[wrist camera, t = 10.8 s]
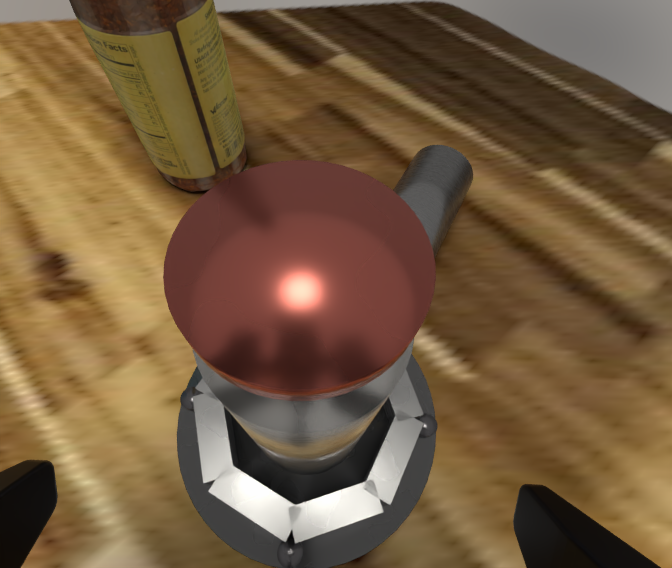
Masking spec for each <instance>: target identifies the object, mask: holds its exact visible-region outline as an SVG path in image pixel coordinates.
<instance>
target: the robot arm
mask: <svg viewBox="0 0 672 568" xmlns="http://www.w3.org/2000/svg"><path fill="white" fill-rule="evenodd" d="M57 497H58V496H57V487H56V480H55V472H54V466H53V464H52V463H51V462H50V461H47V460H26V461H23V462H21V463H19V464H17V465H15V466H12V467H10V468H8V469H6V470H4V471H2V472H0V568H21V566H22V564H23V563H24V561H25V559H26V558H27V556H28V554H29V552H30V551H31V549H32V547H33V546H34V544H35V542H36V541H37V539H38V537H39V535H40V534H41V532H42V530H43V529H44V527H45V525H46V523H47V522H48V520H49V518H50V517H51V515H52V513H53V511H54V509H55V507H56V504H57ZM513 524H514V531H515V534H516V537H517V540H518V543H519V546H520V549H521V552H522V555H523V558H524V561H525V564H526V567H527V568H661V567H659V566H658V565H657V564H655V563H654V562H652V561H651V560H649V559H648V558H647V557H645V556H644V555H642V554H641V553H640V552H638V551H637V550H635V549H634V548H632V547H631V546H630V545H628V544H627V543H625V542H624V541H623V540H621V539H620V538H618V537H617V536H615V535H614V534H613V533H611V532H610V531H608V530H607V529H606V528H604V527H603V526H601V525H600V524H598V523H597V522H596V521H594V520H593V519H591V518H590V517H589V516H587V515H586V514H584V513H583V512H582V511H580V510H579V509H577V508H576V507H574V506H573V505H572V504H570V503H569V502H567V501H566V500H565V499H563V498H562V497H560V496H559V495H557V494H556V493H555V492H553V491H552V490H550V489H549V488H547V487H546V486H544V485H533V484H525V485H522V486H521V488H520V490H519V495H518V499H517V504H516V509H515V514H514V519H513Z"/></svg>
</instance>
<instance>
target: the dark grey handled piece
mask: <svg viewBox="0 0 672 568" xmlns="http://www.w3.org/2000/svg"><path fill="white" fill-rule="evenodd" d="M472 180H473V171H472V167H471V165H470V163H469V161H468V160H467V159H466V158H465V157H464V156H463V155H462V154H461V153H460V152H458V151H457V150H455V149H453V148H451V147H448V146H443V145H431V146H427V147H425V148H423V149H421V150H420V151H419V152H418V153H417V154H416V155H415V157H414V158H413V160H412V161H411V163H410V164H409V166H408V168H407V169H406V171H405V172H404V174H403V176H402V177H401V179H400V180H399V182H398V183H397V185H396V187H395V188H394V190H393V191H394V192H395V193H396V194H397V195H398V196H400V197H401V198H402V199H403V200H404V201H405V202H406V203H407V204H408V206H409V207H410V208H411V209H412V210H413V211H414V213H415V214H416V216H417V217H418V218H419V220H420V221H421V223H422V225H423V227H424V229H425V231H426V233H427V235H428V237H429V240H430V243H431V246H432V249H433V254H434V258H435V256H436V254H437V252H438V250H439V248H440V246H441V244H442V242H443V240H444V238H445V236H446V234H447V232H448V230H449V228H450V226H451V224H452V222H453V220H454V218H455V216H456V214H457V212H458V210H459V208H460V206H461V204H462V202H463V200H464V198H465V196H466V194H467V192H468V190H469V188H470V186H471V183H472ZM180 400H181V409H180V413H179V419H178V429H177V451H178V458H179V464H180V470H181V474H182V477H183V480H184V484H185V487H186V490H187V492H188V494H189V496H190V498H191V500H192V502H193V504H194V506H195V508H196V509H197V511H198V512H199V514H200V515H201V517H202V518H203V520H204V521H205V523H206V524H207V525H208V526H209V527H210V528H211V529H212V530H213V532H214V533H215V534H216V535H217V536H218V537H219V538H220V539H222V540H223V541H224V542H225V543H227V544H228V545H229V546H230V547H232V548H233V549H234V550H236V551H238V552H240V553H241V554H243V555H245V556H247V557H248V558H250V559H253V560H255V561H258V562H260V563H263V564H266V565H268V566H273V567H278V568H330V567H333V566H336V565H340V564H343V563H347V562H349V561H351V560H354V559H356V558H358V557H360V556H362V555H364V554H366V553H368V552H369V551H371V550H372V549H374V548H375V547H377V546H378V545H380V544H381V543H382V542H384V541H385V540H386V539H387V538H388V537H389V536H390V535H391V534H393V533H394V532H395V531H396V530H397V529H398V528H399V526H400V525H401V524H402V523H403V522H404V520H405V519H406V518H407V517H408V516H409V514H410V513H411V511H412V509H413V508H414V506H415V505H416V503H417V501H418V500H419V498H420V496H421V494H422V491H423V489H424V487H425V485H426V483H427V480H428V476H429V473H430V470H431V466H432V463H433V457H434V451H435V439H436V430H437V422H436V420H435V412H434V407H433V402H432V397H431V393H430V391H429V388H428V385H427V382H426V379H425V377H424V375H423V373H422V371H421V369H420V367H419V365H418V363H417V362H416V360H415V358H414V357H413V355H412V354H411V356H410V359H409V362H408V365H407V367H406V369H405V371H404V373H403V376H402V377H401V379H400V380H399V382H398V384H397V385H396V387H395V388H394V390H393V391H392V392H391V394H390V395H389V397H388V398H387V400H386V401H385V403H384V404H383V406H382V407H381V409H380V410H379V412H378V413H377V414H376V416H375V417H374V419H373V420H372V422H371V423H370V425H369V426H368V428H367V429H366V431H365V432H364V433H363V435H362V436H361V438H360V439H359V441H358V442H357V444H356V445H355V447H354V448H353V450H352V451H351V453H350V454H349V455H348V456H347V457H346V458H345V459H344V460H343V461H342V462H341V463H340V464H339V465H337V466H336V467H334V468H332V469H330V470H328V471H326V472H323V473H320V474H314V475H300V474H294V473H291V472H288V471H286V470H284V469H282V468H280V467H279V466H277V465H276V464H274V463H273V462H272V461H271V460H270V459H269V458H268V457H267V456H266V454H265V453H264V452H263V451H262V450H261V449H260V447H259V446H258V445H257V444H256V443H255V442H254V440H253V439H252V438H251V437H250V436H249V434H248V433H247V432H246V431H245V430H244V429H243V427H242V426H241V425H240V424H239V423H238V422H237V420H236V419H235V418H234V417H233V416H232V415H231V413H230V412H229V411H228V410H227V409H226V408H225V406H224V405H223V404H222V403H221V402H220V401H219V399H218V398H217V397H216V396H215V395H214V394H213V392H212V391H211V390H210V388H209V387H208V385H207V384H206V382H205V381H204V379H203V377H202V375H201V373H200V371H199V368H198V366H197V367H196V369H195V371H194V373H193V375H192V377H191V379H190V381H189V383H188V386H187V388H186V390H185V391H184V392H183V393H182V395H181V399H180Z"/></svg>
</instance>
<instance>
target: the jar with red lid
mask: <svg viewBox="0 0 672 568" xmlns="http://www.w3.org/2000/svg"><path fill="white" fill-rule="evenodd" d="M163 278H164V289H165V295H166V299H167V303H168V307H169V310H170V312H171V314H172V316H173V319H174V321H175V323H176V325H177V327H178V328H179V330H180V331H181V333H182V334H183V336H184V337H185V339H186V340H187V341H188V343H189V344H190V345H191V347H192V348H193V353H194V356H195V360H196V363H197V366H198V368H199V371H200V373H201V375H202V377H203V379H204V381H205V382H206V384H207V385H208V387H209V388H210V390H211V391H212V392H213V394H214V395H215V396H216V397H217V398H218V399H219V401H220V402H221V403H222V404H223V405H224V406H225V408H226V409H227V410H228V411H229V412H230V413H231V415H232V416H233V417H234V418H235V419H236V420H237V422H238V423H239V424H240V425H241V426H242V427H243V429H244V430H245V431H246V432H247V433H248V434H249V436H250V437H251V438H252V439H253V440H254V442H255V443H256V444H257V445H258V446H259V447H260V449H261V450H262V451H263V452H264V453H265V454H266V456H267V457H268V458H269V459H270V460H271V461H272V462H273V463H274V464H276V465H277V466H279V467H280V468H282V469H284V470H286V471H288V472H291V473H294V474H300V475H314V474H320V473H323V472H326V471H328V470H330V469H332V468H334V467H336V466H337V465H339V464H340V463H341V462H342V461H343V460H344V459H345V458H346V457H347V456H348V455H349V454H350V453H351V451H352V450H353V448H354V447H355V445H356V444H357V442H358V441H359V439H360V438H361V436H362V435H363V433H364V432H365V431H366V429H367V428H368V426H369V425H370V423H371V422H372V420H373V419H374V417H375V416H376V414H377V413H378V412H379V410H380V409H381V407H382V406H383V404H384V403H385V401H386V400H387V398H388V397H389V395H390V394H391V392H392V391H393V390H394V388H395V387H396V385H397V384H398V382H399V380H400V379H401V377H402V376H403V373H404V371H405V369H406V367H407V365H408V362H409V359H410V356H411V352H412V348H413V341H414V337H415V335H416V333H417V332H418V330H419V328H420V327H421V325H422V323H423V321H424V319H425V317H426V315H427V313H428V311H429V308H430V305H431V301H432V298H433V294H434V287H435V280H436V274H435V260H434V254H433V249H432V246H431V243H430V240H429V237H428V235H427V233H426V231H425V229H424V227H423V225H422V223H421V221H420V220H419V218H418V217H417V216H416V214H415V213H414V211H413V210H412V209H411V208H410V207H409V206H408V204H407V203H406V202H405V201H404V200H403V199H402V198H401V197H400V196H398V195H397V194H396V193H395V192H394V191H393V190H391V189H390V188H388V187H387V186H386V185H384V184H383V183H381V182H379V181H378V180H376V179H374V178H372V177H371V176H369V175H366V174H364V173H362V172H359V171H357V170H354V169H351V168H348V167H345V166H342V165H337V164H332V163H328V162H320V161H307V160H294V161H281V162H275V163H269V164H265V165H261V166H257V167H253V168H250V169H248V170H245V171H242V172H240V173H237V174H235V175H233V176H231V177H229V178H227V179H225V180H224V181H222V182H220V183H219V184H217V185H216V186H214V187H213V188H211V189H210V190H209V191H207V192H206V193H205V194H204V195H203V196H201V197H200V198H199V199H198V200H197V201H196V202H195V203H194V204H193V205H192V206H191V207H190V208H189V210H188V211H187V212H186V214H185V215H184V216H183V218H182V219H181V220H180V222H179V224H178V226H177V227H176V229H175V231H174V233H173V235H172V238H171V240H170V243H169V245H168V249H167V253H166V257H165V262H164V276H163Z"/></svg>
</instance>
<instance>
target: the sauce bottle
mask: <svg viewBox="0 0 672 568" xmlns="http://www.w3.org/2000/svg"><path fill="white" fill-rule="evenodd" d="M69 1H70V3H71V6H72V8H73V10H74V13H75V15H76V17H77V19H78V21H79V23H80V25H81V27H82V29H83V31H84V33H85V35H86V37H87V39H88V41H89V43H90V45H91V47H92V49H93V51H94V53H95V55H96V57H97V58H98V60H99V62H100V64H101V66H102V68H103V70H104V72H105V74H106V76H107V77H108V79H109V81H110V83H111V85H112V87H113V89H114V91H115V93H116V95H117V97H118V98H119V100H120V102H121V104H122V106H123V108H124V110H125V112H126V113H127V115H128V117H129V119H130V121H131V123H132V125H133V126H134V128H135V130H136V132H137V134H138V136H139V138H140V140H141V142H142V144H143V146H144V148H145V150H146V152H147V153H148V155H149V157H150V159H151V161H152V162H153V164H154V165H155V166H156V167H157V169H158V171H159V173H160V174H161V175H162V176H163V177H164V178H165V179H167V181H169V182H170V183H172V184H173V185H175V186H177V187H178V188H180V189H184V190H187V191H191V192H195V191H205V190H209V189H211V188H213V187H214V186H216V185H217V184H219V183H220V182H222V181H224V180H225V179H227V178H229V177H231V176H233V175H235V174H237V173H240V172H241V171H242V169H243V168H244V165H245V163H246V159H247V156H246V149H245V144H244V138H245V136H244V130H243V126H242V122H241V117H240V113H239V109H238V105H237V100H236V96H235V92H234V87H233V83H232V79H231V75H230V70H229V66H228V62H227V57H226V53H225V49H224V45H223V40H222V36H221V32H220V27H219V23H218V18H217V14H216V10H215V6H214V2H213V0H69Z"/></svg>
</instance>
